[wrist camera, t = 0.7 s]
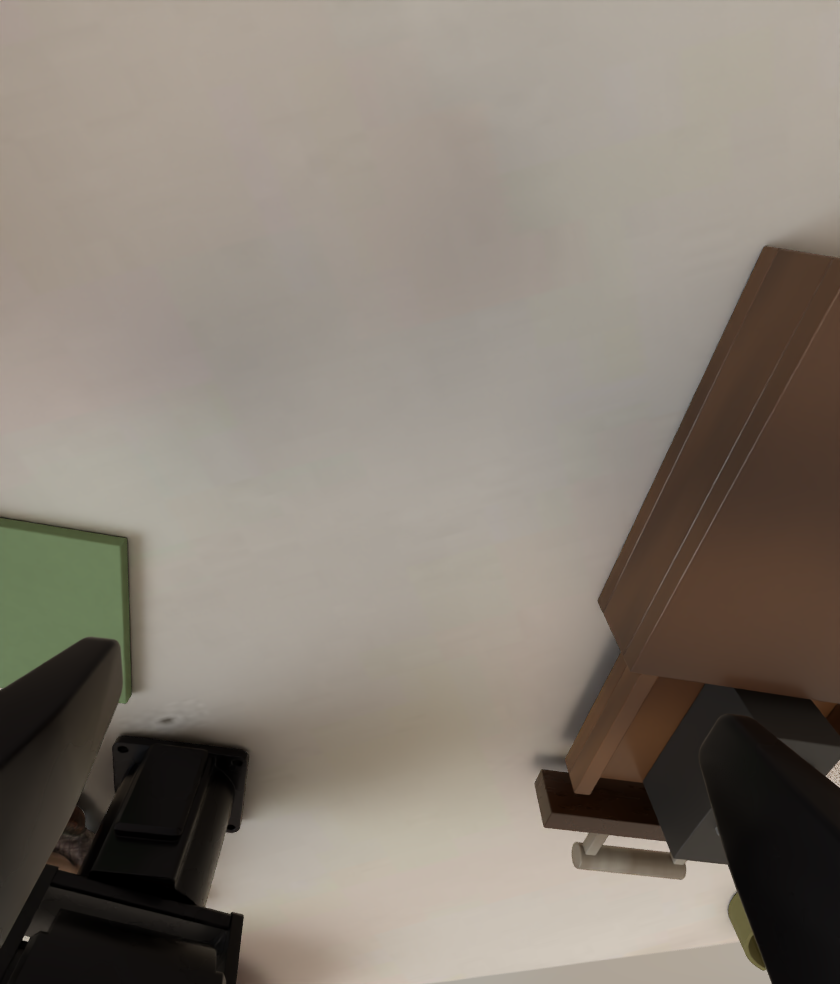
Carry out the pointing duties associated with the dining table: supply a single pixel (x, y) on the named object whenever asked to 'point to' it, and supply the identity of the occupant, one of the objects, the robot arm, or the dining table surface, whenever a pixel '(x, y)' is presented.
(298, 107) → the dining table surface
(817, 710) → the dark grey block
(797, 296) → the cabinet
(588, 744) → the drawer
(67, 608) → the pad
